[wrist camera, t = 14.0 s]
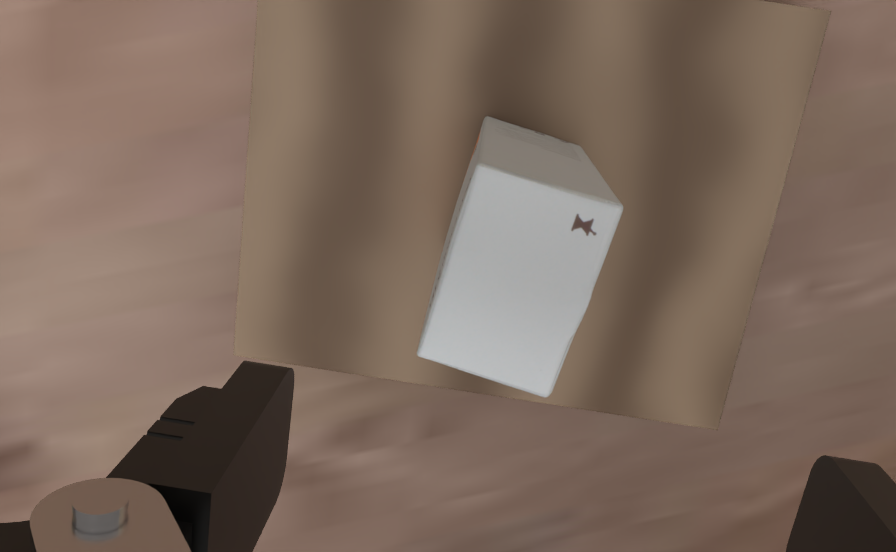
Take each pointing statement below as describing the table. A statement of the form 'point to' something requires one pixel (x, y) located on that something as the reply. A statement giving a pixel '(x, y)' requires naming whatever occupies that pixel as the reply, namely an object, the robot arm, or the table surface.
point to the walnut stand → (542, 110)
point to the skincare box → (519, 258)
